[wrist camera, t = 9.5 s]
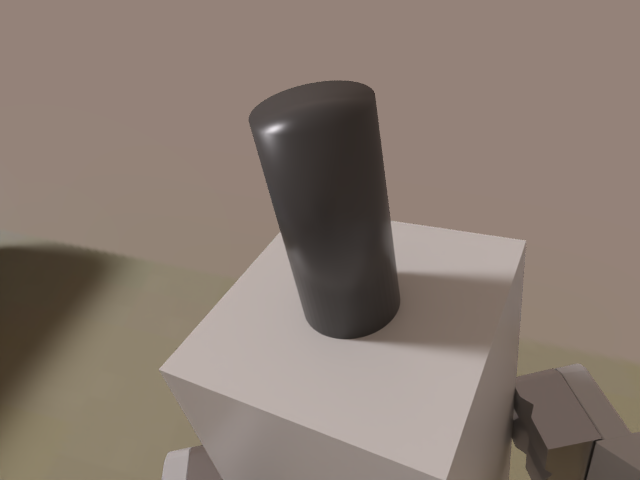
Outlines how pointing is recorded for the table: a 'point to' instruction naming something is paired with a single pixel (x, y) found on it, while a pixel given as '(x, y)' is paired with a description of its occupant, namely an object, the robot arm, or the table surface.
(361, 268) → the connector plug
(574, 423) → the robot arm
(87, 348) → the table surface
